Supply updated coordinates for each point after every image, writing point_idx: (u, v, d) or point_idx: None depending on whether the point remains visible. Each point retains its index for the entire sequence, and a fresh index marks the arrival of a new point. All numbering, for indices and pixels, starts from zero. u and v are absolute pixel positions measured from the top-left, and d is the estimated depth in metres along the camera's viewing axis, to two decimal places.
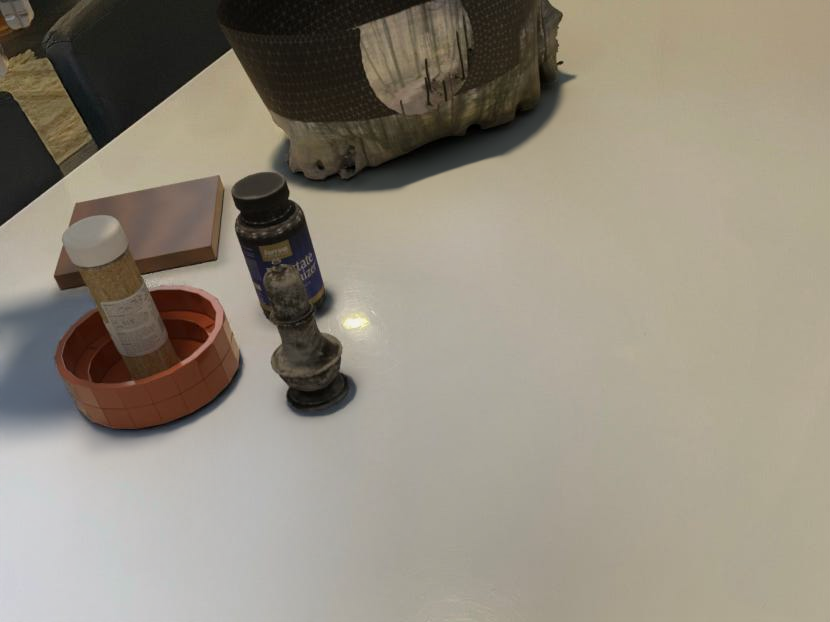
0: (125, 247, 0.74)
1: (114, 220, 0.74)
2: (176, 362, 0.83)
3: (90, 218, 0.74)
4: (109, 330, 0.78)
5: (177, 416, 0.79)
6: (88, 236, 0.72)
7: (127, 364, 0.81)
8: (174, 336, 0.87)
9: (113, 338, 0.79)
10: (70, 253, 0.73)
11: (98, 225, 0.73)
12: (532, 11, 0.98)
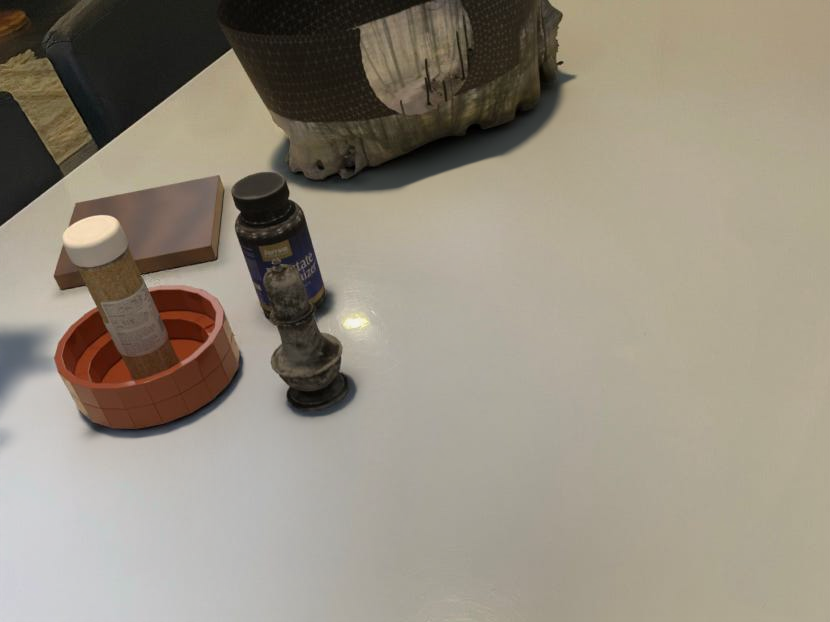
0: (125, 247, 0.74)
1: (114, 220, 0.74)
2: (176, 362, 0.83)
3: (90, 218, 0.74)
4: (109, 330, 0.78)
5: (177, 416, 0.79)
6: (88, 236, 0.72)
7: (127, 364, 0.81)
8: (174, 336, 0.87)
9: (113, 338, 0.79)
10: (70, 253, 0.73)
11: (98, 225, 0.73)
12: (532, 12, 0.98)
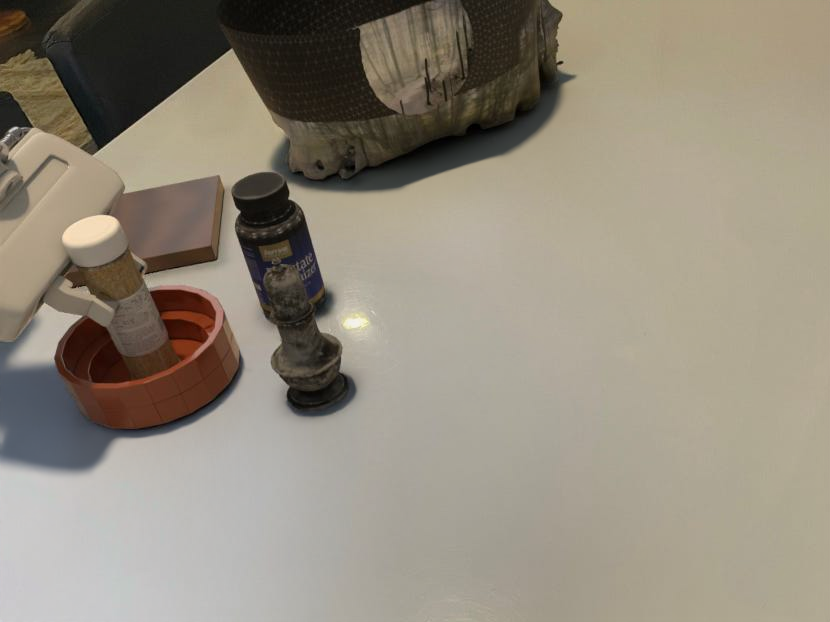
0: (125, 247, 0.74)
1: (114, 220, 0.74)
2: (176, 362, 0.83)
3: (90, 218, 0.74)
4: (109, 330, 0.78)
5: (177, 416, 0.79)
6: (89, 236, 0.72)
7: (127, 364, 0.81)
8: (174, 336, 0.87)
9: (114, 338, 0.79)
10: (70, 253, 0.73)
11: (98, 225, 0.73)
12: (532, 11, 0.98)
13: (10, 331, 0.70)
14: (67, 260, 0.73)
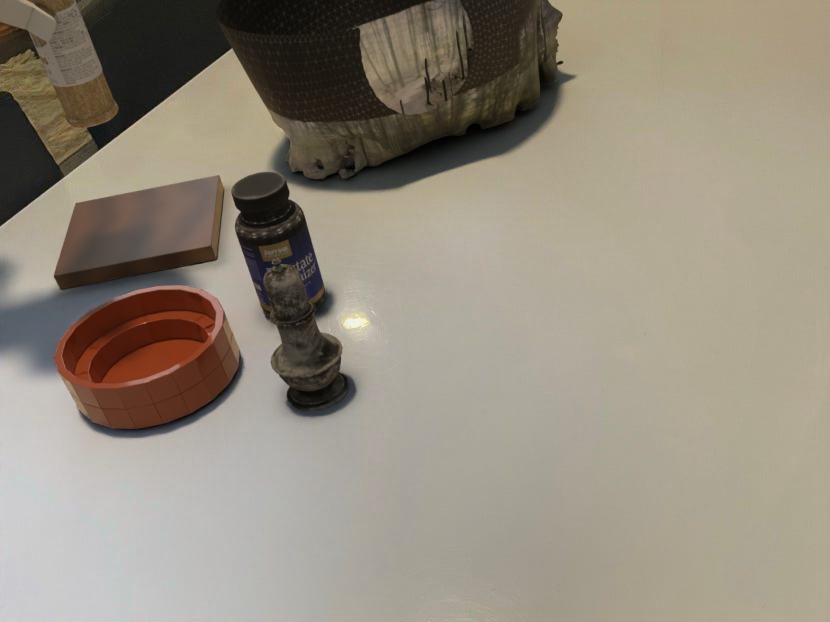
0: None
1: None
2: (113, 99, 0.81)
3: None
4: (46, 56, 0.77)
5: (177, 416, 0.79)
6: None
7: (65, 100, 0.79)
8: (174, 336, 0.87)
9: (51, 66, 0.77)
10: None
11: None
12: (532, 11, 0.98)
13: None
14: None
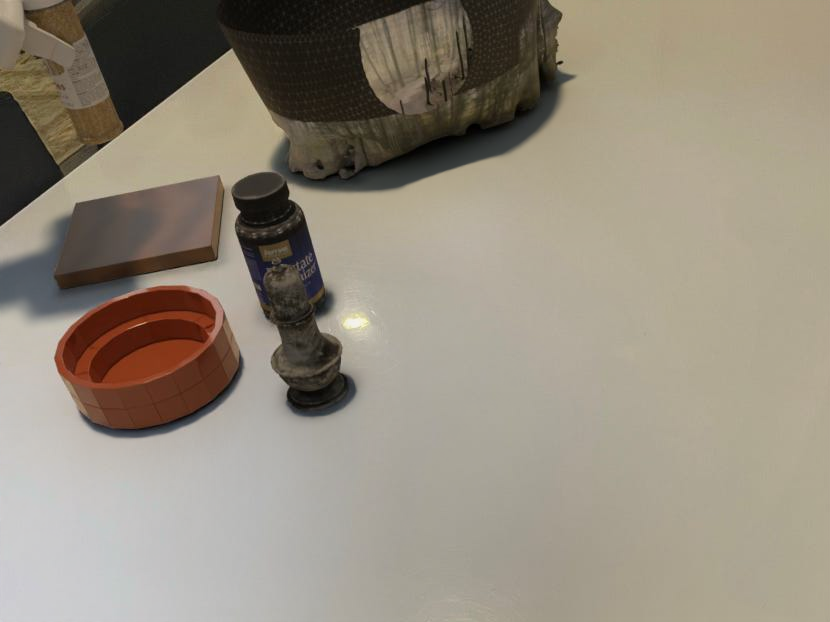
0: None
1: None
2: (118, 117, 0.92)
3: None
4: (63, 82, 0.87)
5: (177, 416, 0.79)
6: None
7: (80, 120, 0.89)
8: (174, 336, 0.87)
9: (68, 91, 0.87)
10: None
11: None
12: (532, 11, 0.98)
13: (14, 52, 0.77)
14: (23, 6, 0.82)
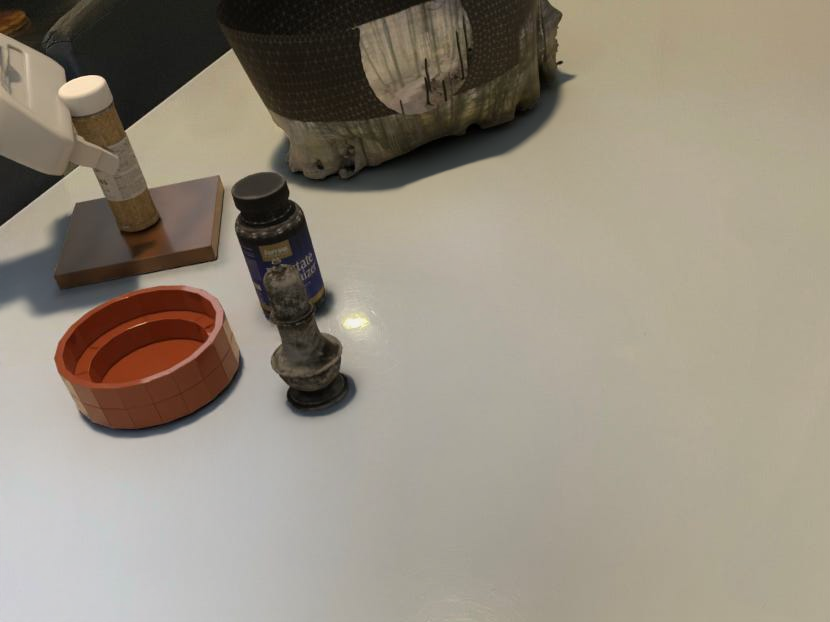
0: None
1: None
2: (154, 206, 0.99)
3: (73, 80, 0.90)
4: (105, 178, 0.94)
5: (177, 416, 0.79)
6: (86, 87, 0.88)
7: (120, 211, 0.96)
8: (174, 336, 0.87)
9: (110, 186, 0.94)
10: (74, 105, 0.88)
11: (86, 81, 0.89)
12: (532, 11, 0.98)
13: (64, 160, 0.84)
14: (70, 112, 0.88)
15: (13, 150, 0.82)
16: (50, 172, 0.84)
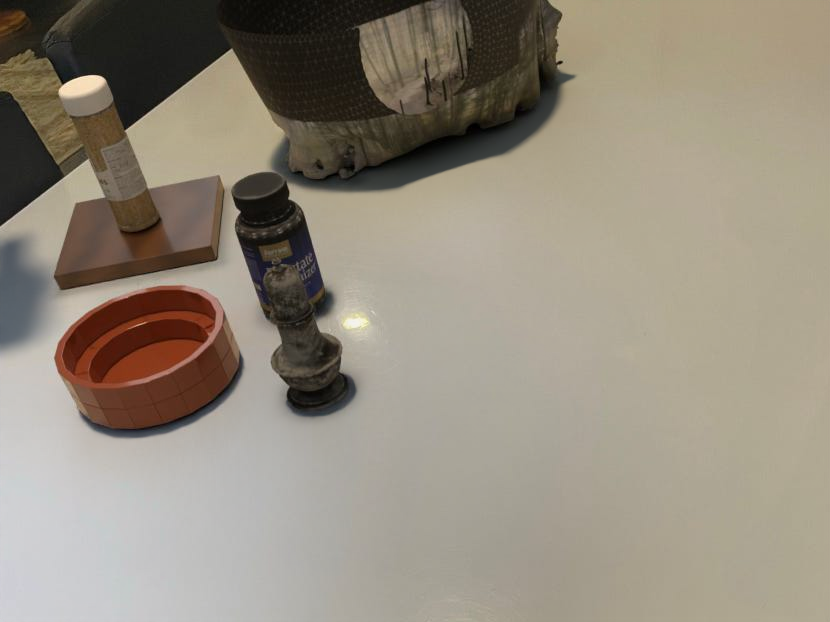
0: (112, 96, 0.90)
1: None
2: None
3: (73, 80, 0.90)
4: (106, 178, 0.94)
5: (177, 416, 0.79)
6: (87, 87, 0.88)
7: (121, 211, 0.96)
8: (174, 336, 0.87)
9: (110, 186, 0.94)
10: (74, 104, 0.88)
11: (86, 81, 0.89)
12: (532, 11, 0.98)
13: None
14: None
15: None
16: None
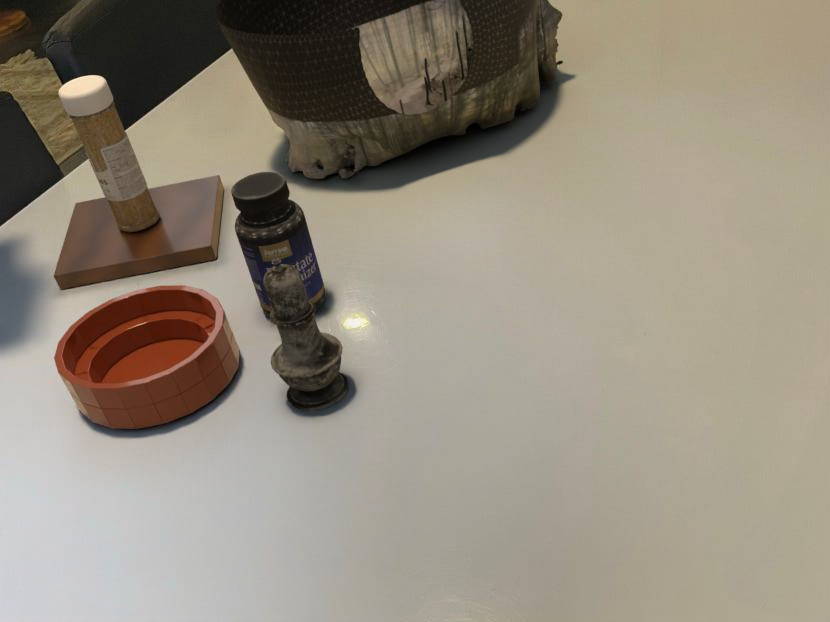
0: (112, 96, 0.90)
1: None
2: None
3: (73, 80, 0.90)
4: (106, 178, 0.94)
5: (177, 416, 0.79)
6: (87, 87, 0.88)
7: (121, 211, 0.96)
8: (174, 336, 0.87)
9: (110, 186, 0.94)
10: (74, 104, 0.88)
11: (86, 81, 0.89)
12: (532, 11, 0.98)
13: None
14: None
15: None
16: None
